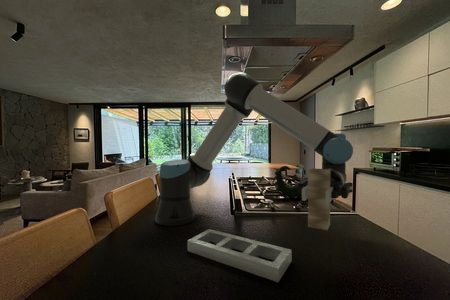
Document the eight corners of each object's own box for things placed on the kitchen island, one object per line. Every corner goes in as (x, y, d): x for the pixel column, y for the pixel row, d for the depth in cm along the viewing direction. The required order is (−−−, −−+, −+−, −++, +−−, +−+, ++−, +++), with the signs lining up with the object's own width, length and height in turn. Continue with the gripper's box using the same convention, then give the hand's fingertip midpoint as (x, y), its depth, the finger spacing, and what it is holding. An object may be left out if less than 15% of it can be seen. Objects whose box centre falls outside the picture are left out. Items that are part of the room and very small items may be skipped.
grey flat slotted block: (187, 251, 61) (187, 240, 61) (209, 238, 70) (209, 228, 69) (278, 282, 47) (278, 268, 47) (291, 261, 55) (291, 249, 55)
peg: (307, 226, 54) (308, 169, 54) (311, 221, 58) (312, 168, 57) (327, 230, 51) (328, 171, 51) (330, 224, 55) (330, 169, 55)
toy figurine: (279, 203, 117) (326, 199, 118) (276, 167, 117) (323, 163, 117) (275, 199, 127) (318, 195, 127) (272, 166, 126) (315, 161, 127)
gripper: (361, 197, 65) (359, 219, 45) (301, 190, 74) (277, 206, 55) (362, 171, 65) (360, 183, 45) (301, 168, 74) (277, 176, 54)
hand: (315, 196), depth 50 cm, fingers closed on peg, 4 cm apart
